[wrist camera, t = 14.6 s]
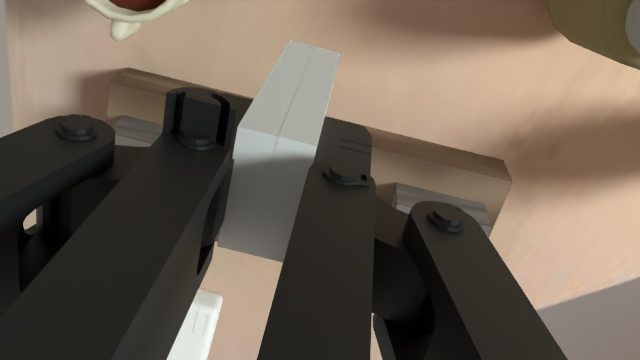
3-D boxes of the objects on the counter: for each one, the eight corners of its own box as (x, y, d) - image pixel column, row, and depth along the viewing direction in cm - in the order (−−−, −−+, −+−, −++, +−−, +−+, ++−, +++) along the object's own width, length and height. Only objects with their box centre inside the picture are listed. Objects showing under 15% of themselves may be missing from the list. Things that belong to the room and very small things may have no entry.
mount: (128, 67, 48) (87, 97, 41) (503, 160, 49) (522, 204, 42) (119, 191, 54) (82, 235, 47) (456, 273, 54) (466, 328, 47)
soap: (208, 356, 62) (200, 377, 60) (158, 342, 62) (148, 362, 59) (225, 292, 58) (218, 312, 55) (172, 277, 58) (162, 296, 55)
